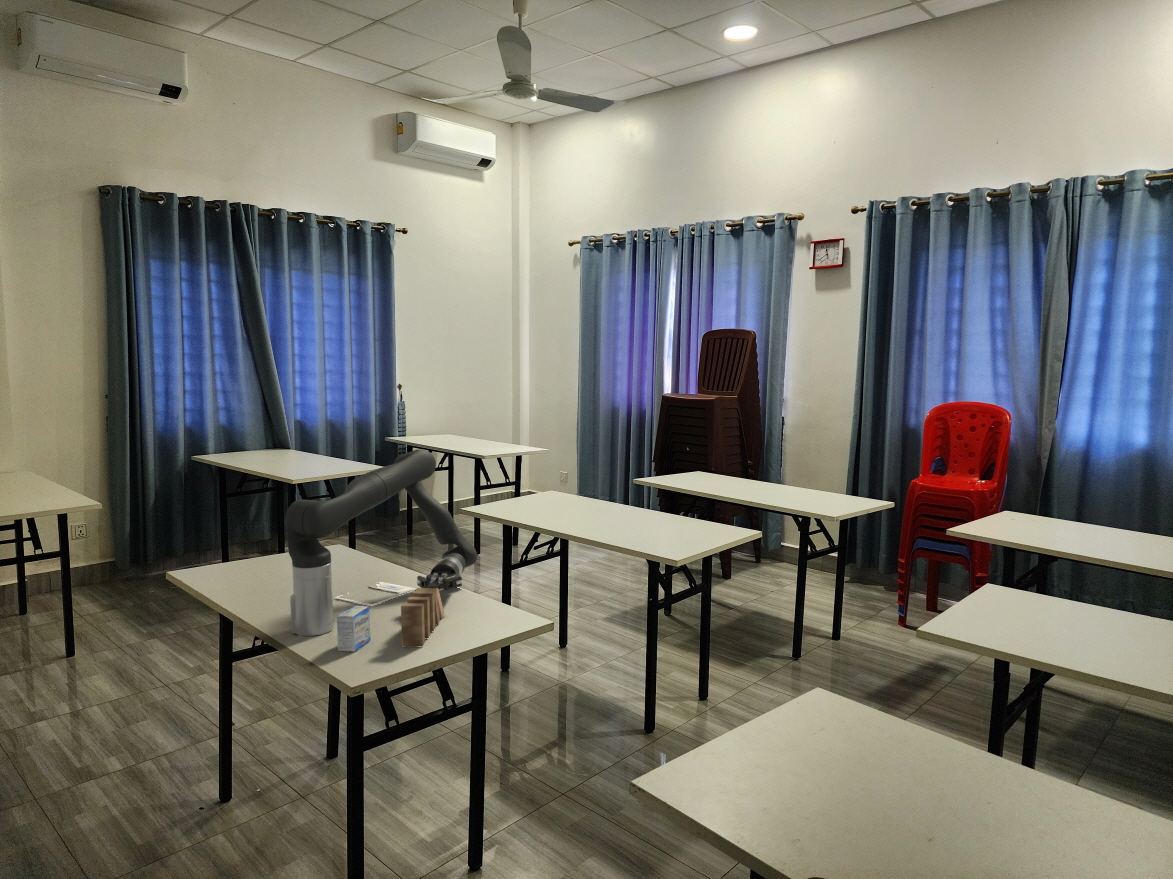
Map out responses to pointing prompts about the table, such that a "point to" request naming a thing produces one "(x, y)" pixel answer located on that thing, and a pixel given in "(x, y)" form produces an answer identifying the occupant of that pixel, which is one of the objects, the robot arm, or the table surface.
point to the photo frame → (389, 588)
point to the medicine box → (353, 628)
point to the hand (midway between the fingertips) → (431, 590)
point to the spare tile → (440, 604)
